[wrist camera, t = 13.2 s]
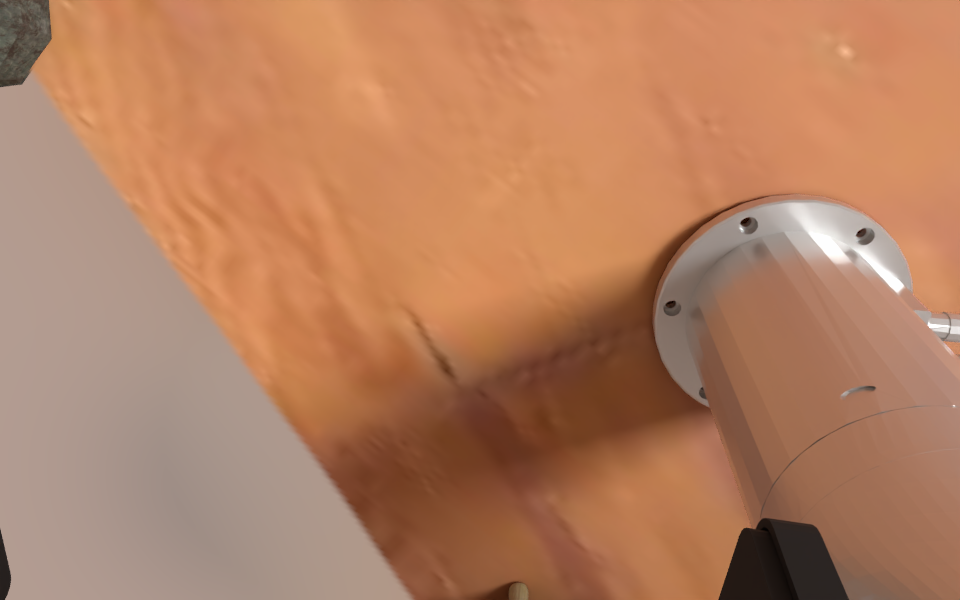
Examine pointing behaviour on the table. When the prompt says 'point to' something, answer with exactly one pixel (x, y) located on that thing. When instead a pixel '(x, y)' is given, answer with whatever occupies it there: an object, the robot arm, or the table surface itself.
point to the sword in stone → (22, 37)
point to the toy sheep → (518, 591)
